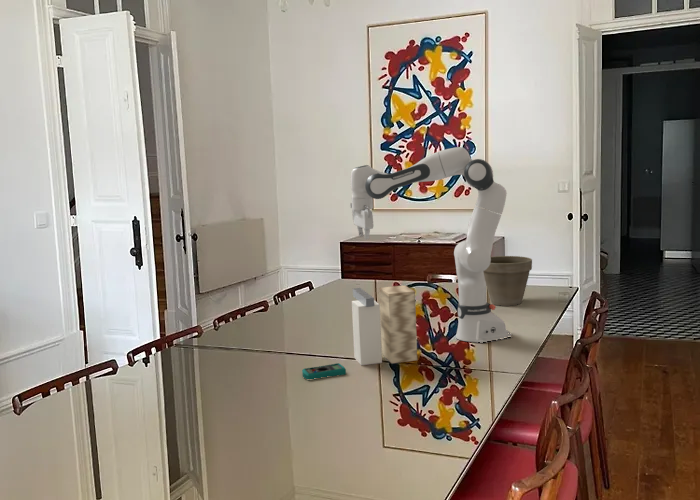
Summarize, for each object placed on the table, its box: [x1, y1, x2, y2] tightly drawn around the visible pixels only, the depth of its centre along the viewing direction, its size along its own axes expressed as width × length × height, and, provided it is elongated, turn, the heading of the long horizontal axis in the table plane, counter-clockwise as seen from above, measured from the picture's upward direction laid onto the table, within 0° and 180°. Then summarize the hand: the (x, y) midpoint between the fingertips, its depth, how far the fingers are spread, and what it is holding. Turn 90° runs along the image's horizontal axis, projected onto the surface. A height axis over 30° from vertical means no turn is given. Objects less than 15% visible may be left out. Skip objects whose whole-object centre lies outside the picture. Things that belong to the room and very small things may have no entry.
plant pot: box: [483, 255, 533, 307], centre depth 340 cm, size 25×25×22 cm
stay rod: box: [352, 287, 375, 307], centre depth 260 cm, size 3×20×3 cm, turn 14°
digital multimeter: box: [301, 362, 347, 380], centre depth 247 cm, size 7×15×3 cm, turn 109°
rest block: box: [351, 299, 383, 366], centre depth 259 cm, size 8×10×22 cm
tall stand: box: [378, 285, 418, 364], centre depth 261 cm, size 10×12×26 cm
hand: (363, 237), depth 293 cm, fingers open, 8 cm apart
